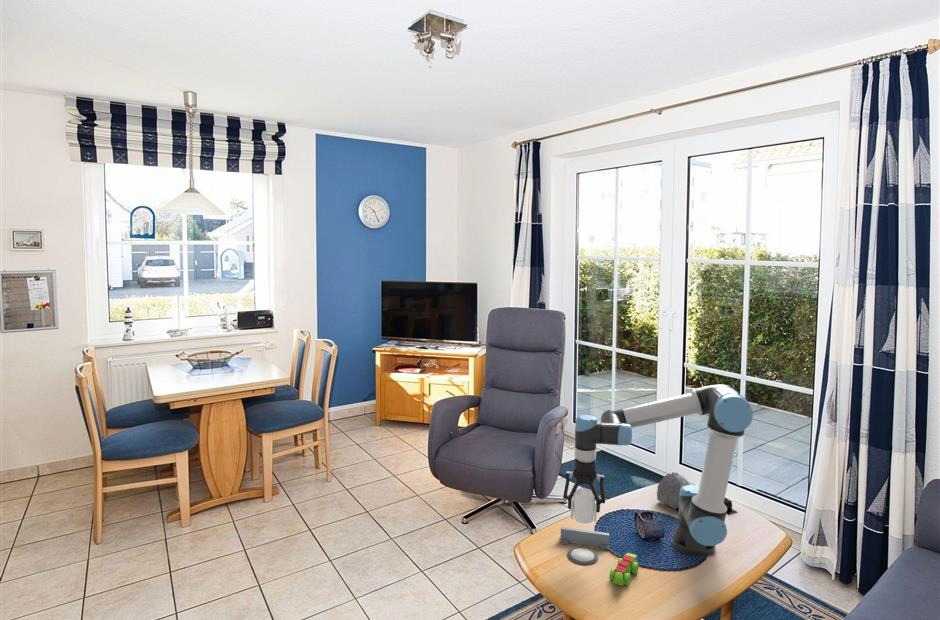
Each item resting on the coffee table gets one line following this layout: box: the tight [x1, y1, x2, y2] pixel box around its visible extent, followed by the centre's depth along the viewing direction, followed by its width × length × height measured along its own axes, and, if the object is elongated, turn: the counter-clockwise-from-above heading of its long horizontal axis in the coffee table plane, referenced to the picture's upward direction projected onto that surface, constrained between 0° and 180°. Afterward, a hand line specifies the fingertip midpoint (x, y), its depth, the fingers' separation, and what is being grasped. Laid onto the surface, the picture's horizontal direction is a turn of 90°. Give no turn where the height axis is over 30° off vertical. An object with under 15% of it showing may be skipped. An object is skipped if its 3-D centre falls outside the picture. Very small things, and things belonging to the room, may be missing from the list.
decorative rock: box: [656, 471, 690, 510], centre depth 243 cm, size 16×7×15 cm, turn 37°
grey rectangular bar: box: [559, 526, 610, 551], centre depth 215 cm, size 18×5×5 cm, turn 75°
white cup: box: [573, 487, 595, 524], centre depth 204 cm, size 8×8×10 cm
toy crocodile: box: [609, 552, 639, 586], centre depth 195 cm, size 20×7×6 cm, turn 146°
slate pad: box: [567, 546, 599, 566], centre depth 206 cm, size 11×11×1 cm
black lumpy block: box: [724, 497, 739, 516], centre depth 241 cm, size 12×7×5 cm, turn 20°
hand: (583, 518), depth 204 cm, fingers closed on white cup, 7 cm apart
